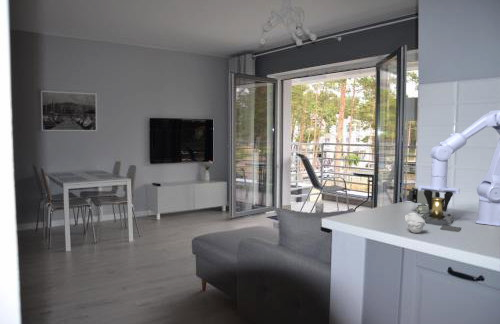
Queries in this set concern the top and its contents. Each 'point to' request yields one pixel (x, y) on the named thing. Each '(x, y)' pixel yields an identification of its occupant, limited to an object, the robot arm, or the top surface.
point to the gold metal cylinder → (437, 207)
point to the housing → (438, 219)
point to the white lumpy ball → (414, 222)
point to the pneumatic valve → (421, 199)
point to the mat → (450, 228)
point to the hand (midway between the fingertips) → (437, 210)
